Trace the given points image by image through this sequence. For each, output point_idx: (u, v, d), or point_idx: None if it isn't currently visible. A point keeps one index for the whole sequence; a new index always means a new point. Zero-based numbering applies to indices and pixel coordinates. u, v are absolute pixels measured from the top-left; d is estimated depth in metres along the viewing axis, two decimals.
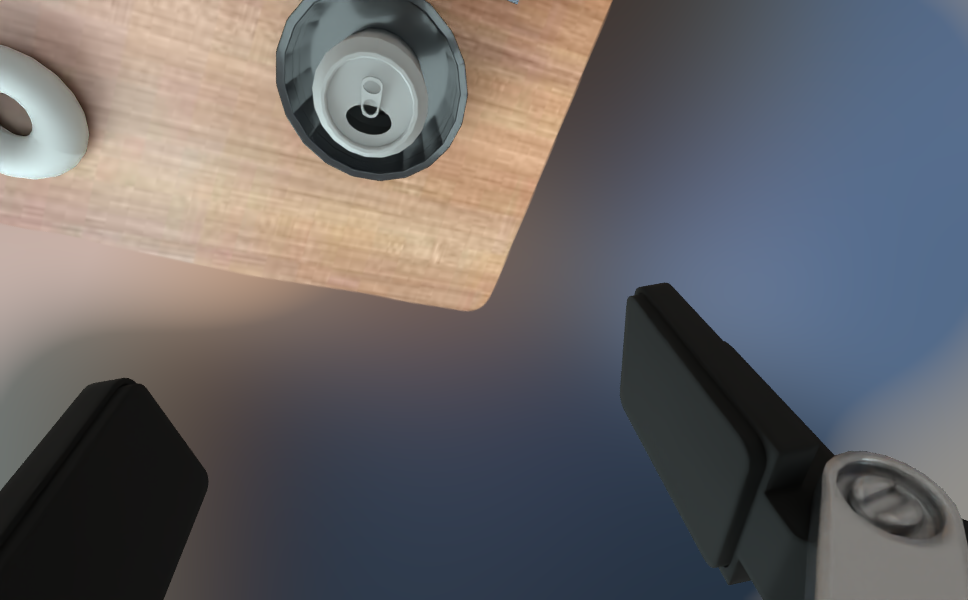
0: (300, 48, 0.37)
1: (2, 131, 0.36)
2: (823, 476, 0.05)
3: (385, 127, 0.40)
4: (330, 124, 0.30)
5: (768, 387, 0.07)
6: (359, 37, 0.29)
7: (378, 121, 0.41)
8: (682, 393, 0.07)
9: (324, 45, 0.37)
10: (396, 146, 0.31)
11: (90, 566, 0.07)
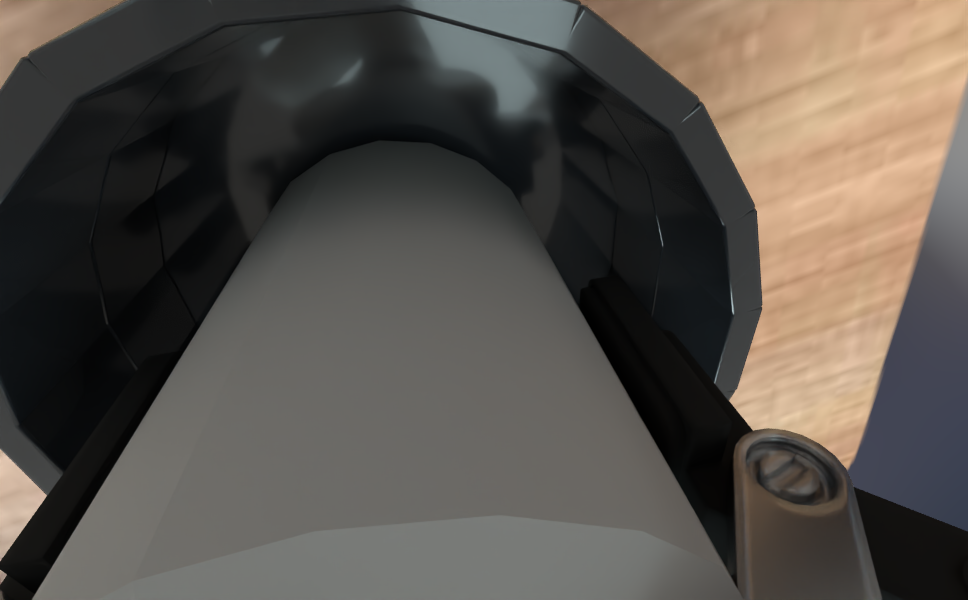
0: (197, 326, 0.13)
1: None
2: (734, 451, 0.06)
3: None
4: None
5: (704, 373, 0.08)
6: None
7: None
8: (622, 378, 0.08)
9: None
10: None
11: None
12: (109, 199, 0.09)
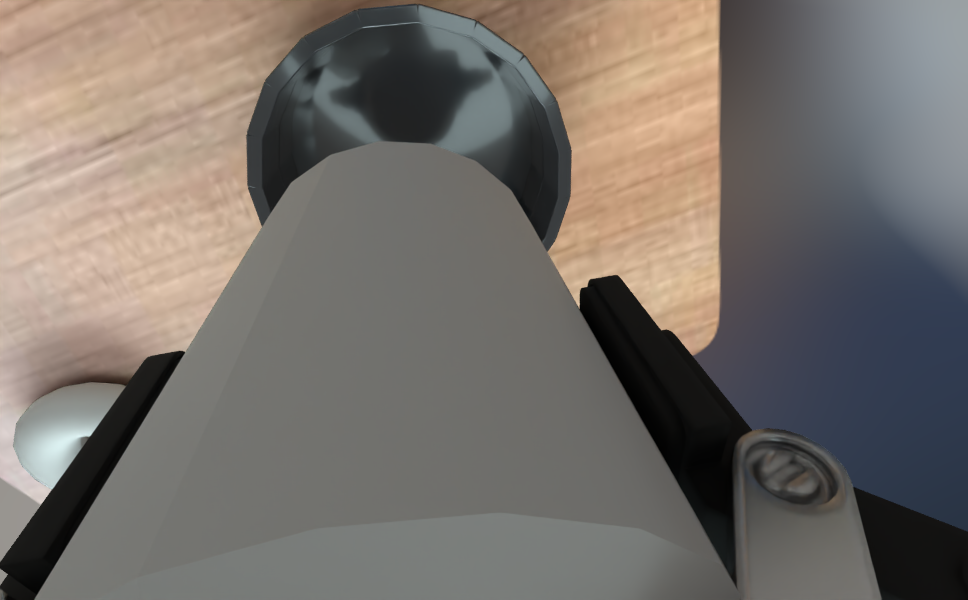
0: None
1: None
2: (733, 451, 0.06)
3: None
4: None
5: (704, 373, 0.08)
6: None
7: None
8: (622, 378, 0.08)
9: None
10: None
11: None
12: (288, 104, 0.21)
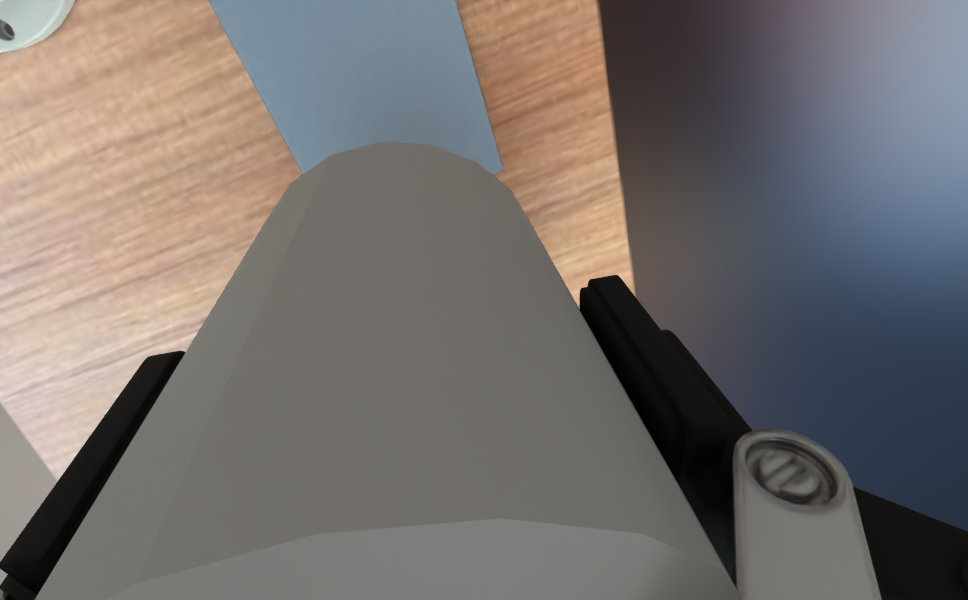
0: None
1: None
2: (734, 451, 0.06)
3: None
4: None
5: (704, 373, 0.08)
6: None
7: None
8: (622, 378, 0.08)
9: None
10: None
11: None
12: None
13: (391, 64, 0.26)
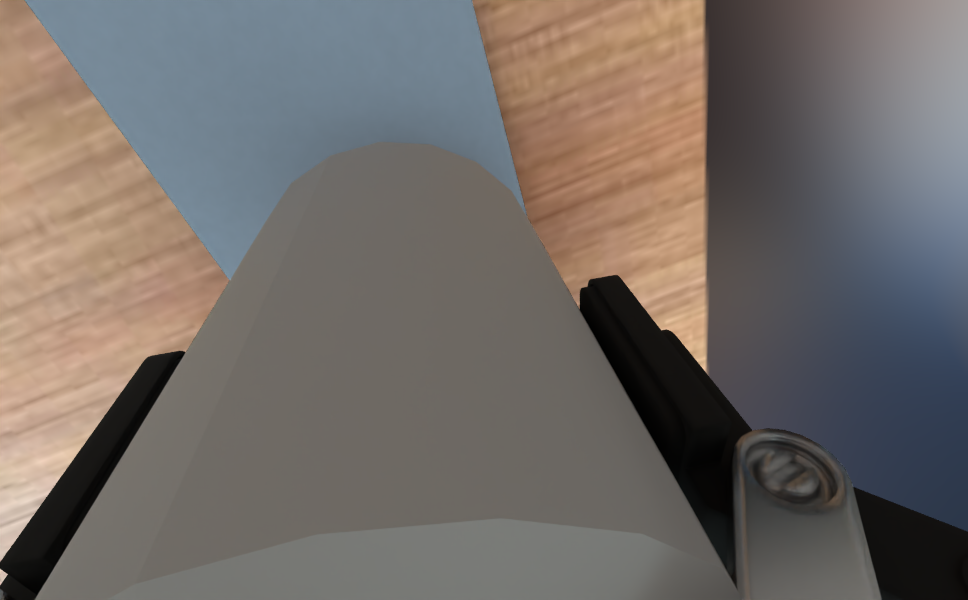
0: None
1: None
2: (733, 451, 0.06)
3: None
4: None
5: (704, 373, 0.08)
6: None
7: None
8: (622, 378, 0.08)
9: None
10: None
11: None
12: None
13: (376, 139, 0.16)
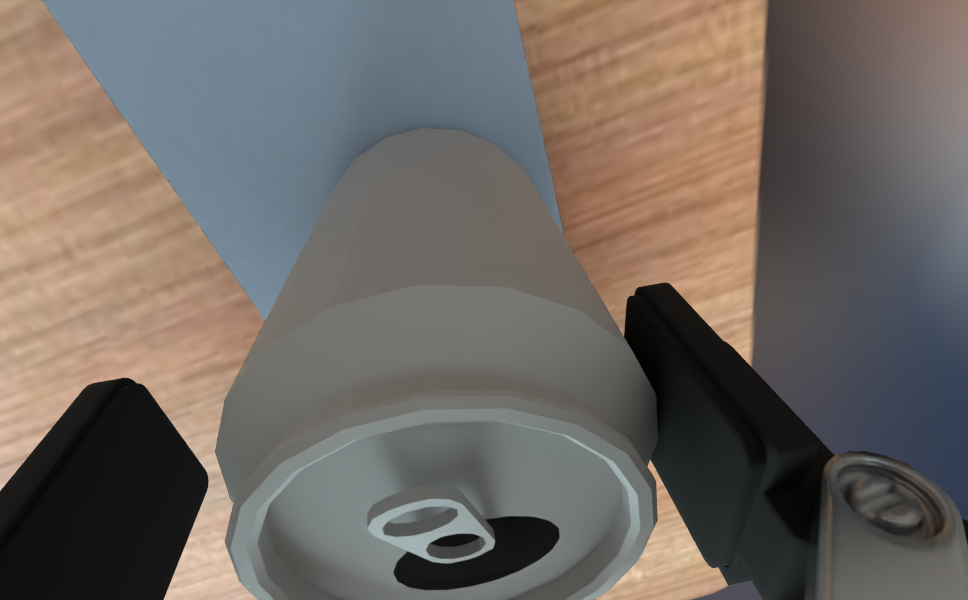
0: None
1: None
2: (823, 476, 0.05)
3: None
4: None
5: (768, 387, 0.07)
6: (268, 349, 0.06)
7: None
8: (682, 393, 0.07)
9: None
10: (614, 582, 0.08)
11: (90, 566, 0.07)
12: None
13: None
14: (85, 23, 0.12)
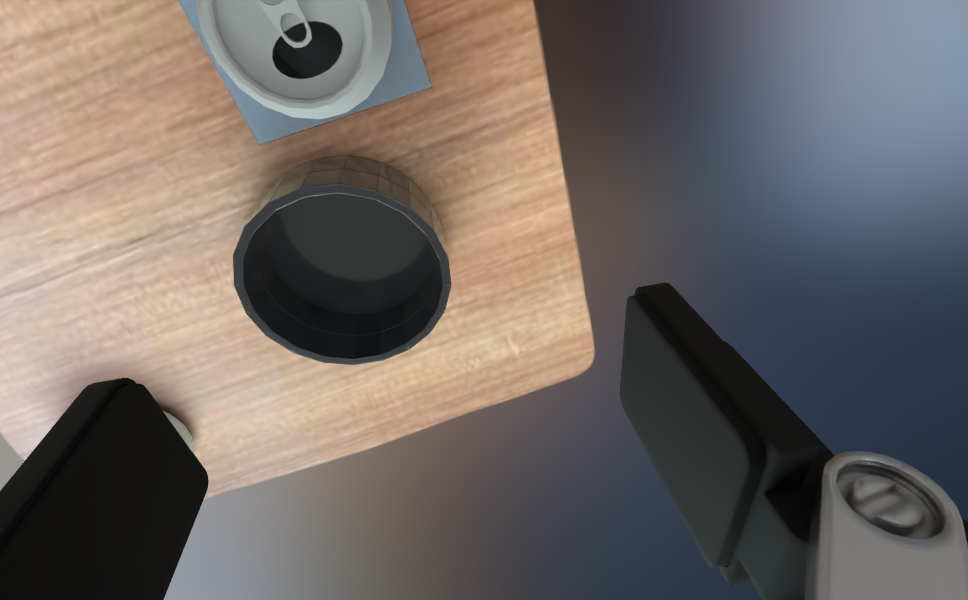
0: (274, 270, 0.35)
1: None
2: (823, 476, 0.05)
3: None
4: (263, 94, 0.19)
5: (768, 387, 0.07)
6: None
7: None
8: (682, 393, 0.07)
9: (290, 253, 0.35)
10: (366, 63, 0.19)
11: (90, 566, 0.07)
12: (260, 225, 0.31)
13: None
14: None
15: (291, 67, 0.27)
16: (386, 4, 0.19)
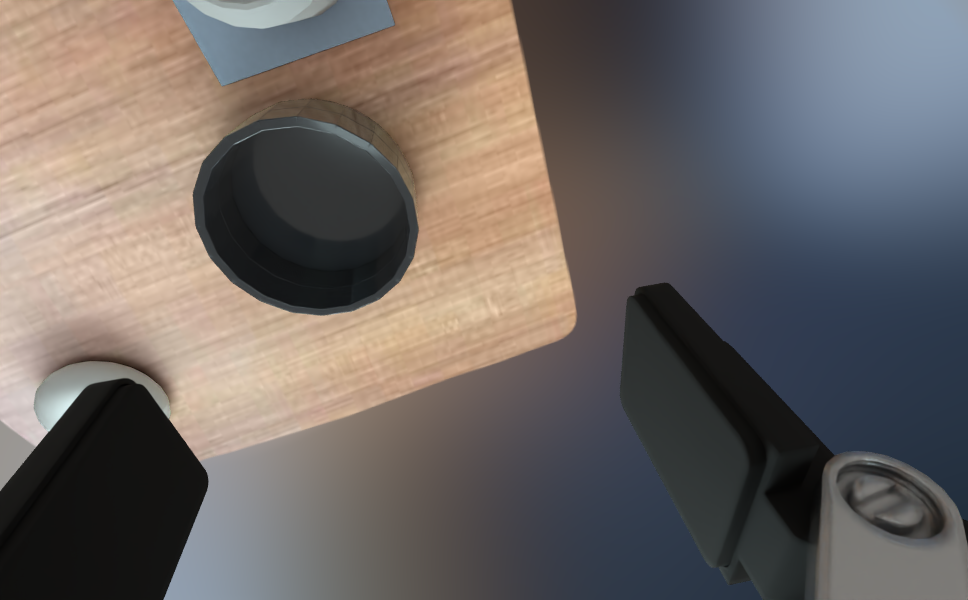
0: (243, 221, 0.35)
1: None
2: (823, 476, 0.05)
3: (333, 3, 0.28)
4: None
5: (768, 387, 0.07)
6: None
7: None
8: (682, 393, 0.07)
9: (259, 204, 0.35)
10: None
11: (90, 566, 0.07)
12: (224, 168, 0.31)
13: None
14: None
15: None
16: None
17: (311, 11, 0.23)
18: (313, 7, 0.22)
